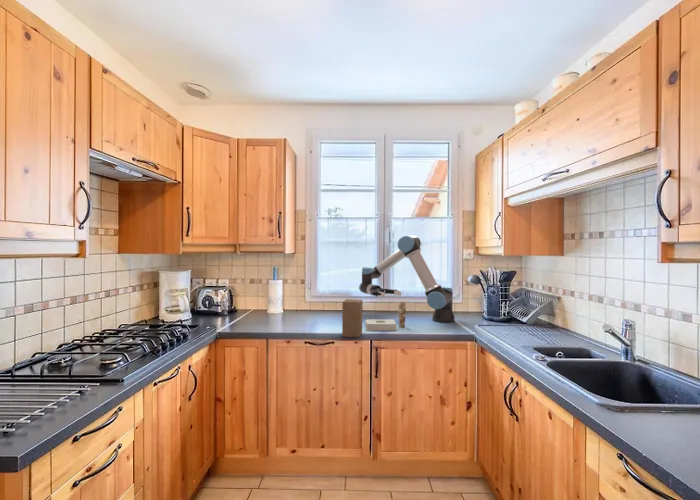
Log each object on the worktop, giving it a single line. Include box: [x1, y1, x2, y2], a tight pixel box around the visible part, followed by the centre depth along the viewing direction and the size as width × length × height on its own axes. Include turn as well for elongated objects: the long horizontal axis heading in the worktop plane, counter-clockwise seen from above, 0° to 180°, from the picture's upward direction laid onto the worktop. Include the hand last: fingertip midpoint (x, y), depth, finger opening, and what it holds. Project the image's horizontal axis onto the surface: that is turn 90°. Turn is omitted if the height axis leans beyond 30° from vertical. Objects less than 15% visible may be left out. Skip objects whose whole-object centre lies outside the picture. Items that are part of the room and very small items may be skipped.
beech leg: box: [398, 300, 407, 329], centre depth 232 cm, size 4×4×16 cm
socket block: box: [365, 318, 397, 332], centre depth 229 cm, size 18×13×4 cm
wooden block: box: [341, 298, 363, 338], centre depth 212 cm, size 10×10×20 cm
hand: (392, 294), depth 240 cm, fingers open, 13 cm apart
